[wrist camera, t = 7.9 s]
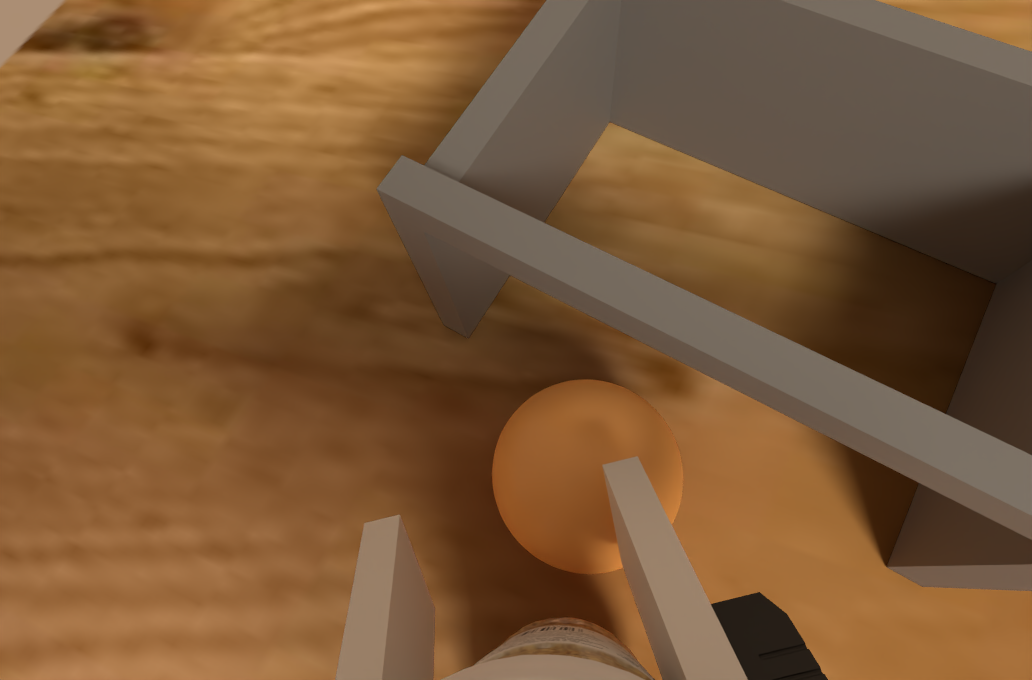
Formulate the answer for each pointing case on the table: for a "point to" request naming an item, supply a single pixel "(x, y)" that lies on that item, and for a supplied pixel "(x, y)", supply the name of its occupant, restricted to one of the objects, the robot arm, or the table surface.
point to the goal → (794, 173)
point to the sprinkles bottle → (557, 655)
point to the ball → (578, 470)
